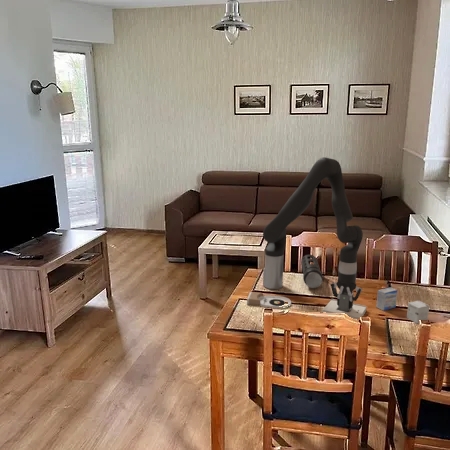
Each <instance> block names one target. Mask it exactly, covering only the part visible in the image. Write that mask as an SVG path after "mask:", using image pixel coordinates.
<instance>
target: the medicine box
mask: <svg viewBox="0 0 450 450" xmlns="http://www.w3.org/2000/svg"><path fill="white" fill-rule="evenodd" d="M376 296H377V297H376V308H377V309H379V310H381V311H384V312H385V311H388V310H391V309H394V308H396V307H397V298H398V297H397V296H398V289H395V288H393V287H391V286H390V287H386V288H382V289H378V290H377V295H376Z"/></svg>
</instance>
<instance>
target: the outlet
mask: <svg viewBox="0 0 450 450" xmlns="http://www.w3.org/2000/svg"><path fill="white" fill-rule="evenodd" d="M367 307H368V306H367V305H363V304H359V303H354V302H353V306H352V308H351V309H350V310H349V312H344V311H339V307H338V305H337V299H334V298H331V299H330V301H329V302H327V304H326V305H325V307H324V308H323V309H322V310H321V313H322V312H326V313H345V314H347V315H348V316H349V317H351V318H353V319H357V320H358V319H359V318H360V317H362V316H363V317H364V315H365V314H366V312H367ZM363 317H362V318H363Z"/></svg>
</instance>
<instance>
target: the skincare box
mask: <svg viewBox="0 0 450 450" xmlns="http://www.w3.org/2000/svg"><path fill="white" fill-rule="evenodd" d="M407 306H408V307H407V311H406V312H407V313H406V318H407V320H410V321H412V322H414V324H420V323H419V320H427V321H428V320H429V319H428V318H429V310H430V305H428V304H426V303H425V302H422V301H421V300H415V301H410V302H408V305H407Z"/></svg>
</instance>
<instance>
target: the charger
mask: <svg viewBox="0 0 450 450" xmlns="http://www.w3.org/2000/svg"><path fill="white" fill-rule="evenodd" d="M349 301H350V300H349V295H348V294H347V293H342V294H340V301H339V311H344V312H349V313H350V311H349V310H350V309H349Z"/></svg>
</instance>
